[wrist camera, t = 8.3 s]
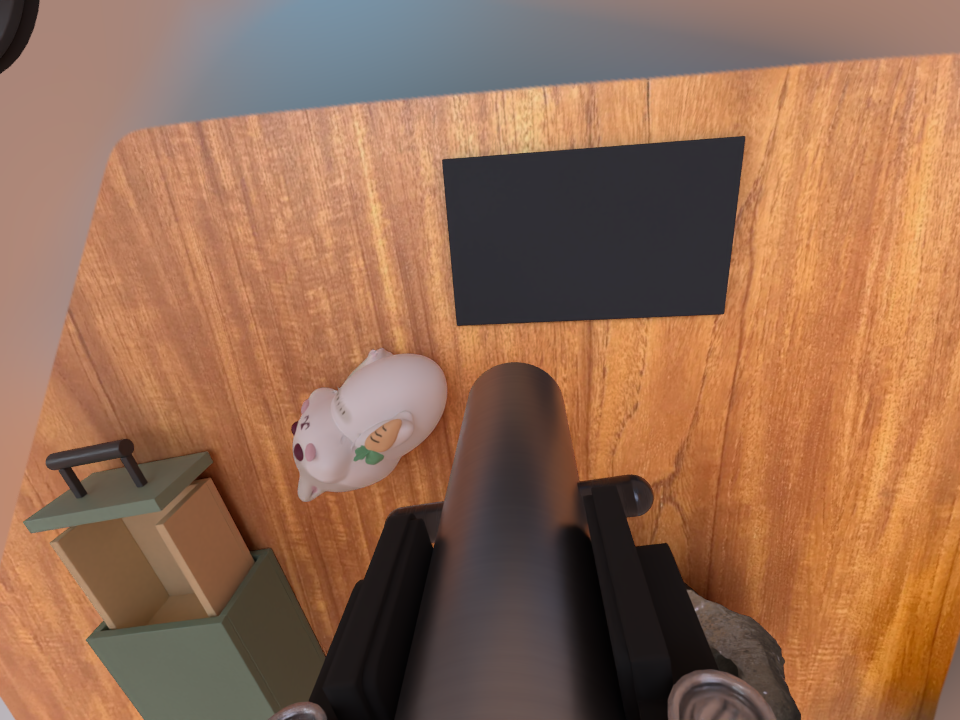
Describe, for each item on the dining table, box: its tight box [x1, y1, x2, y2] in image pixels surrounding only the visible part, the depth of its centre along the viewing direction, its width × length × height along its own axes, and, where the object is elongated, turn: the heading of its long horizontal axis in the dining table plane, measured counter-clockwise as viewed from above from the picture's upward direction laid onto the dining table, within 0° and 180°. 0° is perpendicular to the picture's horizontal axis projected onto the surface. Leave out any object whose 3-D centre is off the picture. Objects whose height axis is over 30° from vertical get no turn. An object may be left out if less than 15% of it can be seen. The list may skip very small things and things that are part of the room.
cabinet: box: [86, 548, 326, 720], centre depth 47 cm, size 17×14×9 cm
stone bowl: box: [684, 583, 801, 720], centre depth 44 cm, size 25×25×9 cm
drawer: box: [23, 439, 255, 630], centre depth 42 cm, size 20×12×7 cm, turn 14°
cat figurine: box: [291, 348, 447, 502], centre depth 37 cm, size 10×8×15 cm
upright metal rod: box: [384, 362, 654, 720], centre depth 12 cm, size 7×4×13 cm, turn 103°
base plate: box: [442, 136, 745, 326], centre depth 34 cm, size 20×12×1 cm, turn 94°
